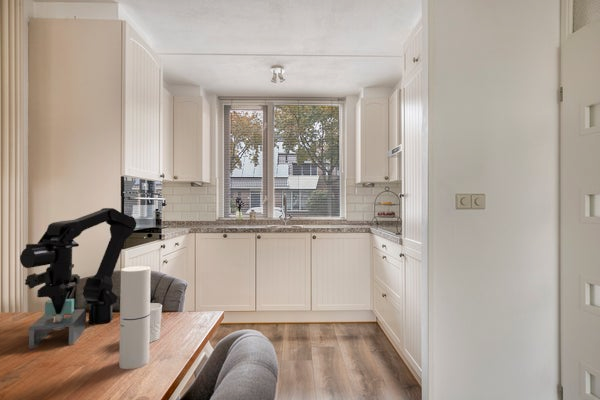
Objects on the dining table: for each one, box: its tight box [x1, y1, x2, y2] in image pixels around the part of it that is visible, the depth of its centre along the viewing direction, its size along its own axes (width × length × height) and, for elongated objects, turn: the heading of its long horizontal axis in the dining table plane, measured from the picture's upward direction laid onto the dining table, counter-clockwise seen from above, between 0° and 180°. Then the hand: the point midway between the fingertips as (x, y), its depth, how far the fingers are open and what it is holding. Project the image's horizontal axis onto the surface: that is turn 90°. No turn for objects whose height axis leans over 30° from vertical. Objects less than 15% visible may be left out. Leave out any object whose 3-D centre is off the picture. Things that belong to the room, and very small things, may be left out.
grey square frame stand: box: [28, 308, 87, 350], centre depth 105 cm, size 14×11×6 cm
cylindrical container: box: [118, 265, 152, 370], centre depth 90 cm, size 7×7×25 cm
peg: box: [44, 298, 75, 331], centre depth 106 cm, size 7×4×8 cm, turn 109°
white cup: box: [149, 302, 163, 343], centre depth 106 cm, size 8×8×10 cm
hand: (60, 312), depth 106 cm, fingers closed on peg, 2 cm apart
